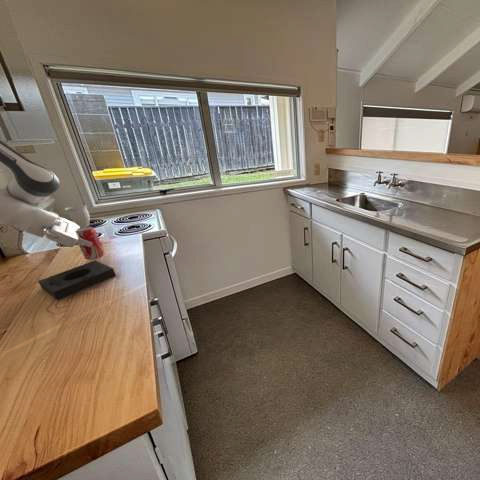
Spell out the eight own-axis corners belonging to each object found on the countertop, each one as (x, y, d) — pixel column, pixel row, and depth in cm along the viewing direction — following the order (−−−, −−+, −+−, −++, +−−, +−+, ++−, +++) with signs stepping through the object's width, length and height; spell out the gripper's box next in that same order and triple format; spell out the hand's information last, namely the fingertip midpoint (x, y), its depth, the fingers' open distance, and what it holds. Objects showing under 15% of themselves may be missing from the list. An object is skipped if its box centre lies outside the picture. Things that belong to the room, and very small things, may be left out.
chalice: (82, 249, 115) (64, 210, 108) (82, 244, 120) (65, 207, 112) (102, 244, 119) (86, 206, 112) (102, 240, 124) (87, 203, 117)
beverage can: (81, 260, 99) (68, 231, 94) (98, 253, 104) (86, 225, 99) (94, 261, 97) (80, 232, 92) (109, 254, 103) (98, 226, 98)
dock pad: (57, 300, 79) (53, 292, 78) (42, 288, 85) (37, 281, 84) (116, 275, 91) (113, 268, 90) (98, 267, 98) (95, 260, 97)
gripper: (46, 223, 82) (97, 242, 91) (53, 211, 97) (96, 228, 106) (33, 240, 81) (86, 257, 91) (42, 225, 96) (86, 241, 105)
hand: (91, 241), depth 98 cm, fingers closed on beverage can, 6 cm apart
